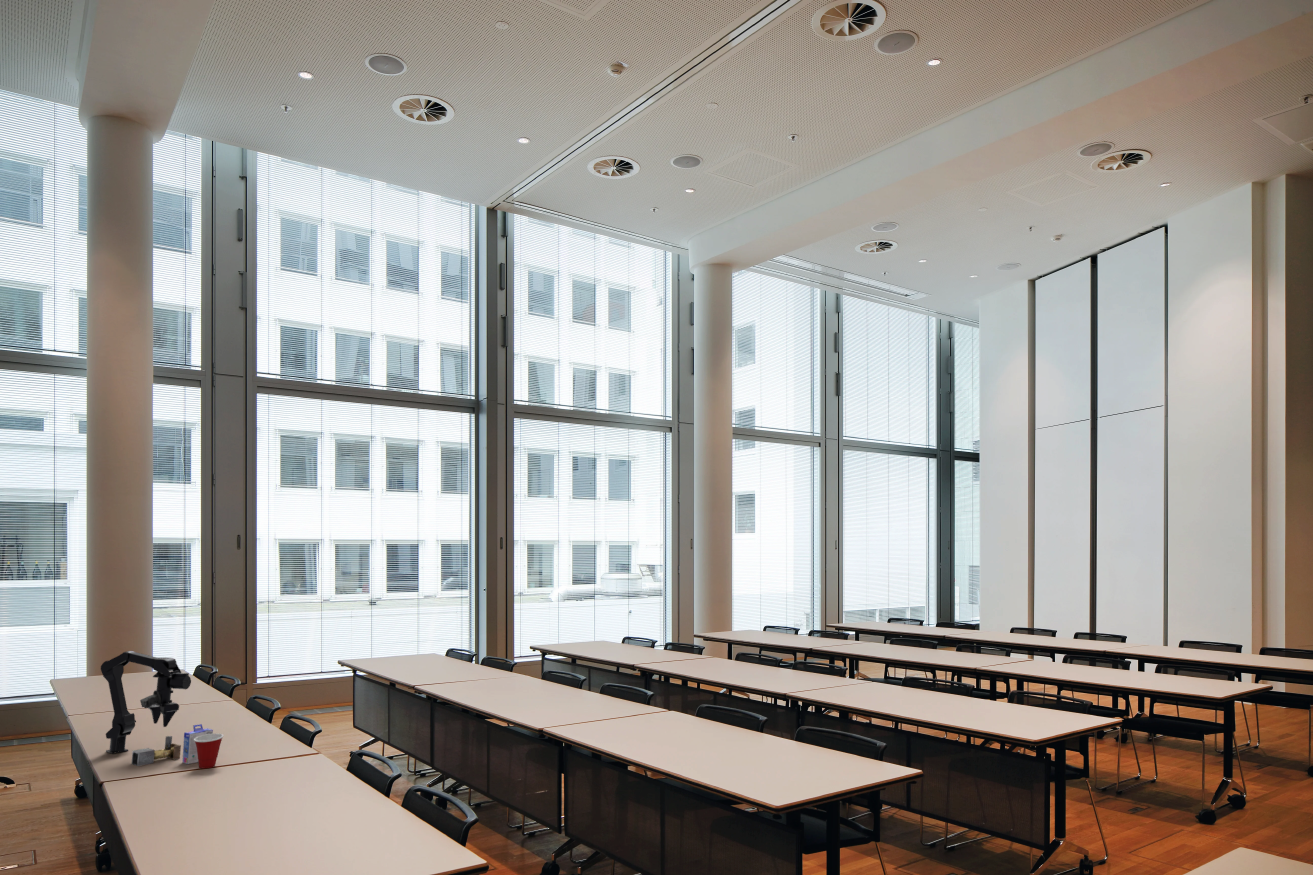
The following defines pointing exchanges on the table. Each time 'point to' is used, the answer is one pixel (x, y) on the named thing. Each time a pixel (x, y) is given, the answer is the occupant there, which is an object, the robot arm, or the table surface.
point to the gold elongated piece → (165, 750)
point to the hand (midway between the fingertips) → (160, 725)
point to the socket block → (176, 751)
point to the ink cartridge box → (193, 743)
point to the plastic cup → (208, 749)
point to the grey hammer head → (142, 756)
